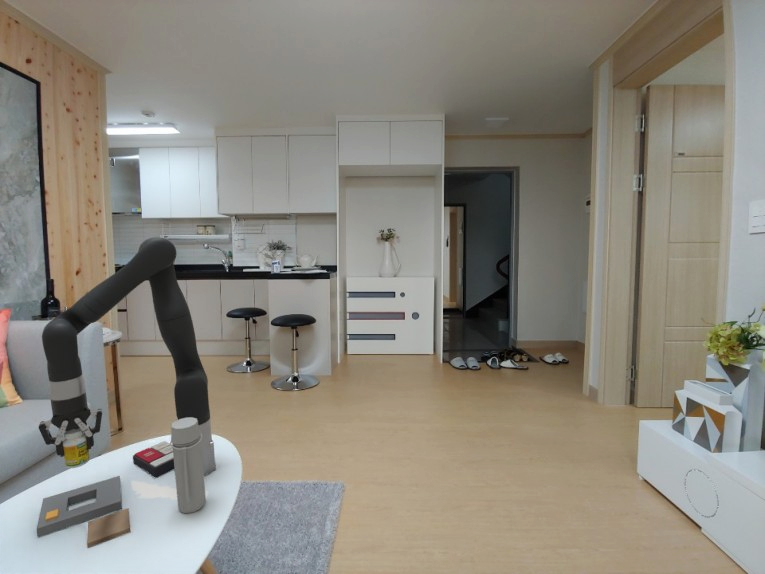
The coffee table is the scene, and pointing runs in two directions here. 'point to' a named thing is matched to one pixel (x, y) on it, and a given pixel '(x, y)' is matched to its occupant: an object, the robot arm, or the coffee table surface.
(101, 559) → the coffee table surface
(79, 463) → the supplement bottle
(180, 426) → the water bottle
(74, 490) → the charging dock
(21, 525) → the coffee table surface
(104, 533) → the coaster pad
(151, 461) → the calculator
